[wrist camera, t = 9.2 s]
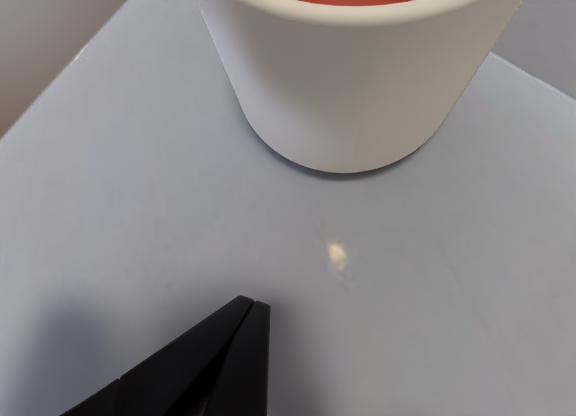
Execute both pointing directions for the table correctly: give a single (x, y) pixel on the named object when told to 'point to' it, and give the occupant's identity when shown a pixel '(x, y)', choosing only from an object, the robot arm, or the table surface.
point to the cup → (351, 71)
